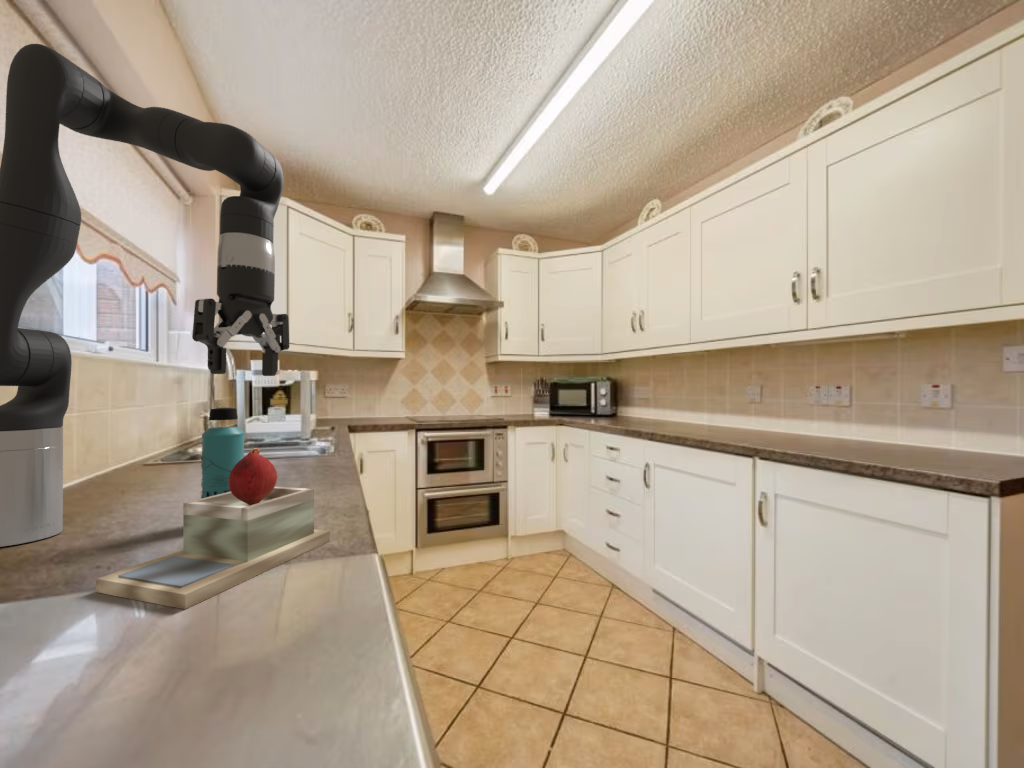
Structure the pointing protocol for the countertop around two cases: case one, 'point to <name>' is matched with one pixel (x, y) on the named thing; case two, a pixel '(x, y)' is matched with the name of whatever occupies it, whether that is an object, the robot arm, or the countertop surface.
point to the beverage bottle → (220, 453)
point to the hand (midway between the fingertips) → (244, 374)
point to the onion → (252, 478)
